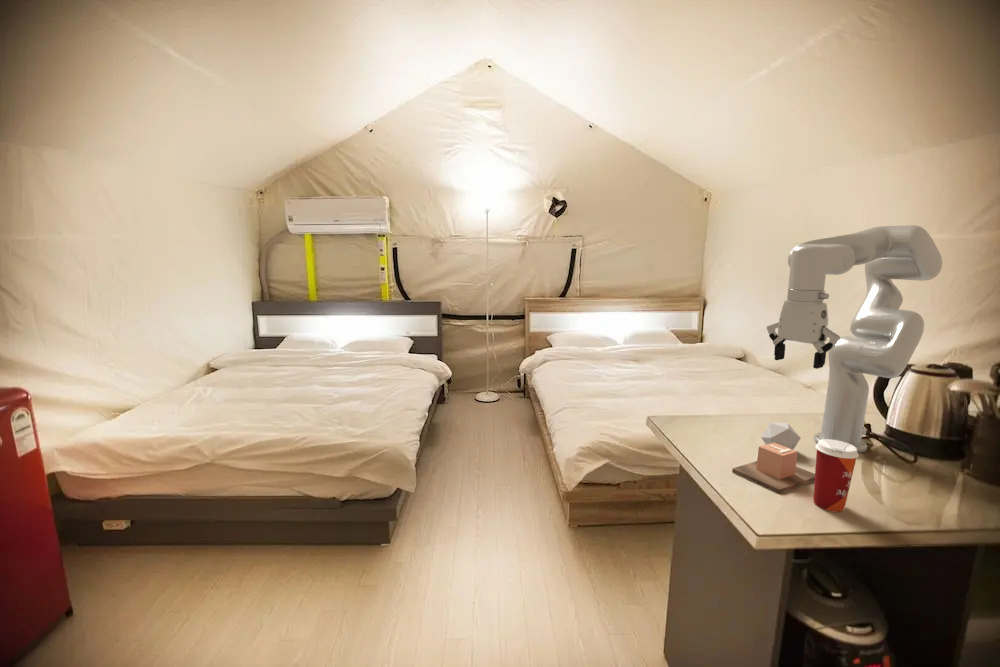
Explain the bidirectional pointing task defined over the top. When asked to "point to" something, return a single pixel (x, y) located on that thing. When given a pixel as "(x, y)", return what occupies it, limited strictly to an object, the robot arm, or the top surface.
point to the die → (781, 435)
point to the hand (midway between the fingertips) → (798, 363)
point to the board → (772, 482)
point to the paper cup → (833, 473)
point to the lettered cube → (776, 460)
